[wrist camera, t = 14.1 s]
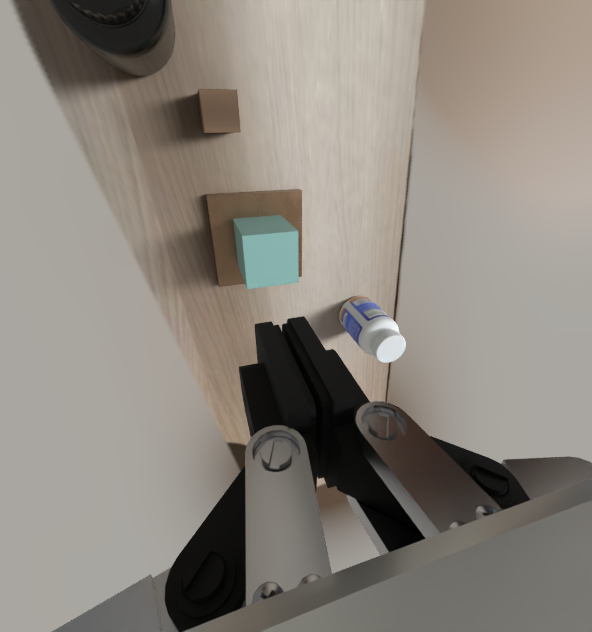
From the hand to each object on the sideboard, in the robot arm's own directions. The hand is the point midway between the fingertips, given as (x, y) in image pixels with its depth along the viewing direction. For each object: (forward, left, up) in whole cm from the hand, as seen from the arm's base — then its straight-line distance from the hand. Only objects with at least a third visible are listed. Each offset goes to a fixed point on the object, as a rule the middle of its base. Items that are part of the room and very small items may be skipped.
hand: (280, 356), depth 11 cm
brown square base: (+4, +4, -27) cm, 28 cm away
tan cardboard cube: (-8, +1, -27) cm, 28 cm away
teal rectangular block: (+4, +4, -26) cm, 27 cm away
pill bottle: (+16, +18, -27) cm, 36 cm away
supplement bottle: (-14, -5, -27) cm, 31 cm away
